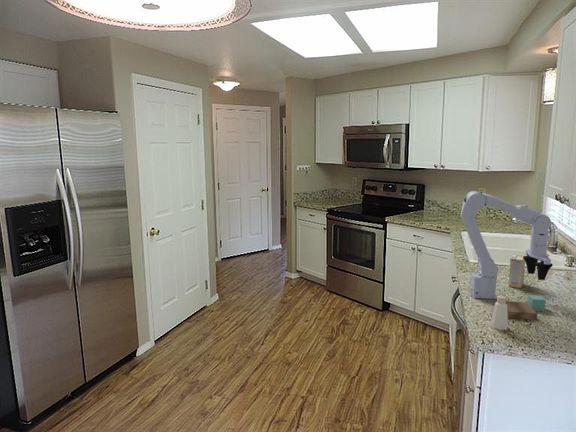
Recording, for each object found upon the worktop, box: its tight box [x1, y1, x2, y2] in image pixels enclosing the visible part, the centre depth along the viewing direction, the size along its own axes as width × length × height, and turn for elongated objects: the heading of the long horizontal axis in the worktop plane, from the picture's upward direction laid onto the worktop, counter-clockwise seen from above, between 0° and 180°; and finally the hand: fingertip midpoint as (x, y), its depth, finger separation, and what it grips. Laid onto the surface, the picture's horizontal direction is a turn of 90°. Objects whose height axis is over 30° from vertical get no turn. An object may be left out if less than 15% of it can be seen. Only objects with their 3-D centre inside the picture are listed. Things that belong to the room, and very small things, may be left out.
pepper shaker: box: [490, 295, 509, 331], centre depth 138 cm, size 5×5×11 cm
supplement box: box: [508, 253, 526, 289], centre depth 178 cm, size 8×5×13 cm, turn 140°
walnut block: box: [505, 300, 538, 321], centre depth 150 cm, size 10×10×2 cm
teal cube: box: [526, 294, 547, 312], centre depth 154 cm, size 4×4×4 cm
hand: (536, 276), depth 161 cm, fingers open, 7 cm apart
